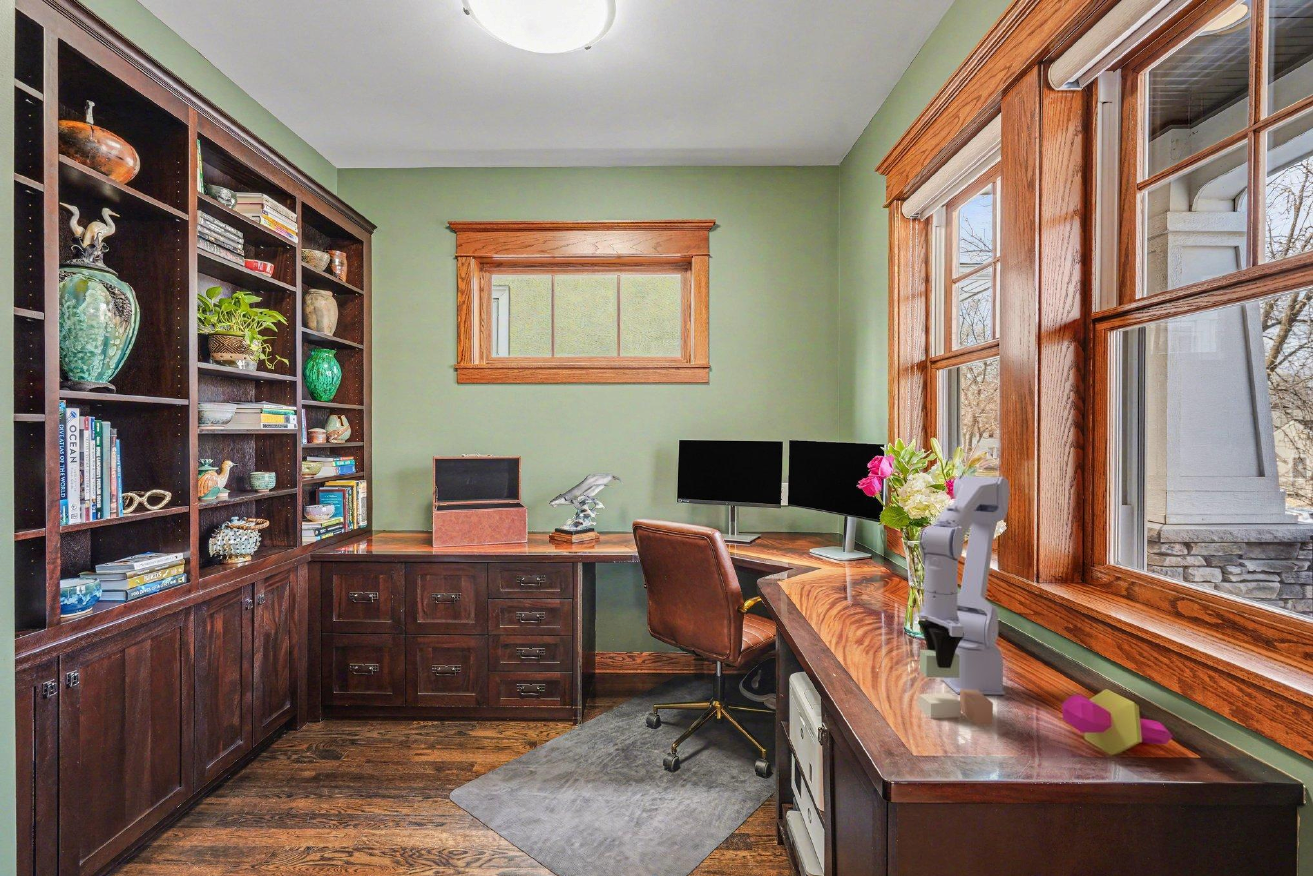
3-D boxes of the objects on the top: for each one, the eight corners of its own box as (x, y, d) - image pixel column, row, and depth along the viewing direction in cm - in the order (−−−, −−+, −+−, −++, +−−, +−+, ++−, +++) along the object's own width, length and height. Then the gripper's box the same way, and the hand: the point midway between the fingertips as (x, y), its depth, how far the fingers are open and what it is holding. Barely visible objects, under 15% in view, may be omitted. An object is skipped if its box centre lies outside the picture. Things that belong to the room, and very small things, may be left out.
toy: (1192, 772, 101) (1184, 702, 105) (1092, 743, 99) (1087, 674, 103) (1135, 767, 110) (1129, 703, 114) (1042, 741, 108) (1040, 677, 112)
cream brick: (947, 708, 122) (948, 693, 122) (960, 718, 118) (961, 701, 118) (918, 710, 121) (918, 694, 121) (930, 719, 117) (931, 703, 117)
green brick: (951, 671, 121) (952, 650, 121) (959, 677, 118) (959, 656, 118) (919, 670, 121) (919, 649, 121) (926, 677, 118) (926, 655, 118)
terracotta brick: (959, 710, 121) (960, 689, 121) (977, 711, 121) (977, 689, 121) (974, 725, 115) (974, 702, 115) (992, 725, 115) (992, 703, 115)
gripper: (905, 581, 127) (904, 650, 127) (934, 600, 112) (934, 677, 112) (941, 582, 127) (940, 650, 127) (975, 601, 112) (974, 678, 112)
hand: (939, 663), depth 120 cm, fingers closed on green brick, 3 cm apart
